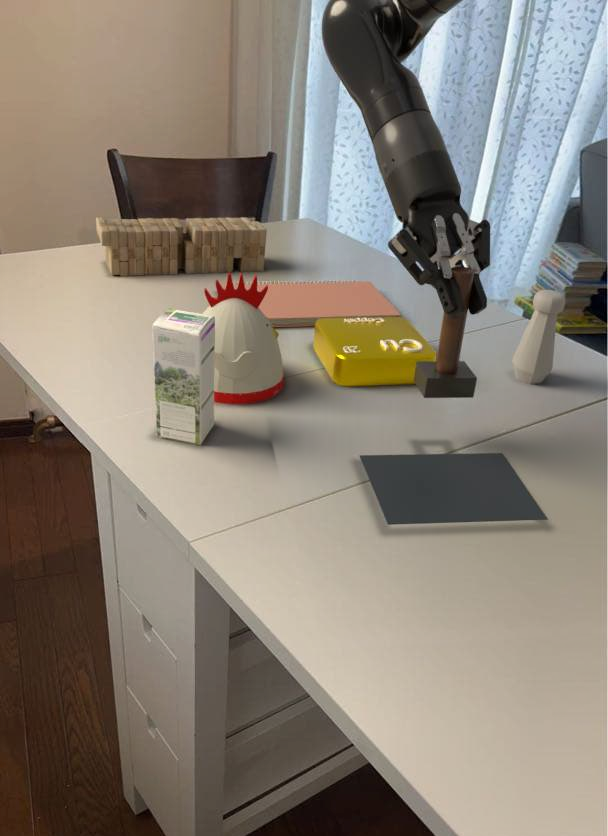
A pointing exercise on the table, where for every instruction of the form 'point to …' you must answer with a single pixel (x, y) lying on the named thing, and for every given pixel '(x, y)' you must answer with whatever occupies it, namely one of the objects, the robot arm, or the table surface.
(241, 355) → the kitchen timer
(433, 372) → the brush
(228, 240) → the block tower
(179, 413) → the syrup box
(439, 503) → the board
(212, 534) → the table surface
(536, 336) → the salt shaker
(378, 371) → the element tile
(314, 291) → the notebook
